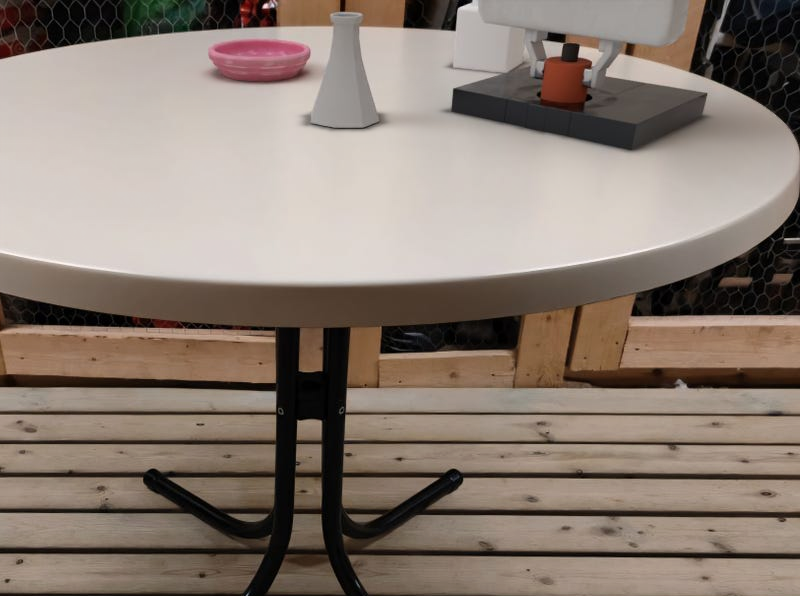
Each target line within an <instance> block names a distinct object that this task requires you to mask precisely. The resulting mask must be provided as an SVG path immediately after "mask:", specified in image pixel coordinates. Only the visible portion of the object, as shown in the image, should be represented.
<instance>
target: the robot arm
mask: <svg viewBox="0 0 800 596" xmlns="http://www.w3.org/2000/svg"><path fill="white" fill-rule="evenodd" d="M689 6H690V0H478V12H479V14H480V16H481V18H482V20H483V22H484V23H488V24H495V25H502V26H509V27H517V28H524V29H525V36H524V42H525V48H526V50H527V53H528V56H529V59H530V61H531V64H530V66H531V72H530V77H531V78H534V79H540V80H543V76H544V70H545V63H546V59H547V58H548V56H547V53H546V50H545V46H544V43H543V41H545V40H547V39H548V35H549V33H552V34H560V35H568V36H575V37H582V38H589V39H594V40H595V39H596V40H599V43H598V50H597V51H598V52H599V53H602V55H601V56H600V57H599V58H598V60H597V61H596V62H595V64H594V65H592V66H591V67H590V68H585V69H584V73H583V77H584V79H583V81H582V87H585V88H590V89H596V90H597V89H600V88H602V87H603V85H604V81H605V76H606V75H607V70H608V69H609V68H610V67H611V65H612V64H613V63H614V61H616V59H617V58H618V56H619V55H620V53H622V51H623V46H624V44H632V45H639V46H645V47H653V48H663V47H666V46H670V45H673V44H674V43H675V42H677V41H678V40H679V39H680V38H681V37H682V36H683V35H684V33H685V30H686V26H687V20H688V14H689V9H690V8H689Z"/></svg>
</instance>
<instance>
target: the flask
mask: <svg viewBox="0 0 800 596" xmlns="http://www.w3.org/2000/svg"><path fill="white" fill-rule="evenodd" d="M329 16H330V17H329V18H330V22H331V23H332V38H331V39H332V41H331V45H330V52H329V58H328V61H327V65H326V67H325V71H324V74H323V77H322V80H321V83H320V87H319V89H318V93H317V95H316V99H315V101H314V104H313V107H312V109H311V113H310V124H314V125H319V126H325V127H329V128H334V129H335V128H345V129H347V128H349V129H351V128H354V129H355V128H360V129H361V128H363V129H364V128H366V127H369V126H371V125H374V124H376V123H379V122H380V119H379V115H378V111H377V108H376V103H375V100H374V97H373V93H372V91H371V87H370V84H369V80H368V76H367V72H366V69H365V65H364V61H363V56H362V48H361V42H360V40H361V39H360V25H361V23H362V22H363V19H364V17H363V16H364V15H363V13H361V12H354V11H338V12H333V13H329Z"/></svg>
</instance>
